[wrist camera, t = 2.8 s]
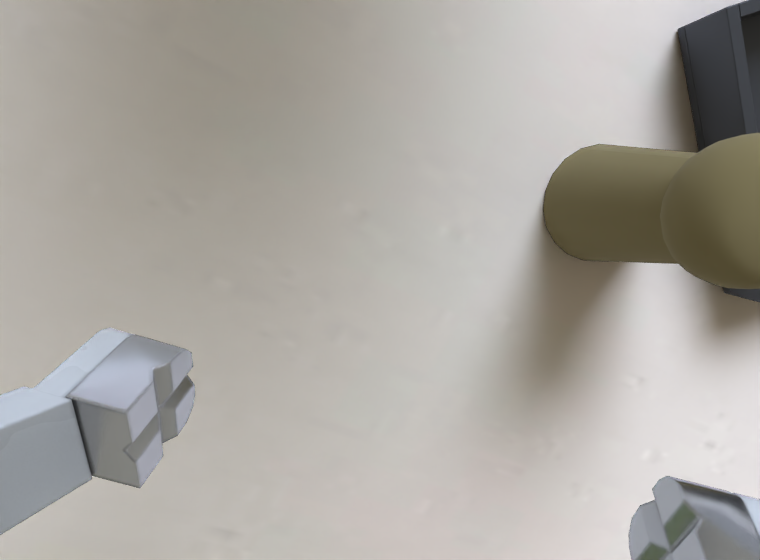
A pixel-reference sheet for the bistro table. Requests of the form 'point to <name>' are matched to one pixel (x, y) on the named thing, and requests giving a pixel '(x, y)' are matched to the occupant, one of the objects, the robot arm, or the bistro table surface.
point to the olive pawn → (663, 208)
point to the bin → (724, 79)
